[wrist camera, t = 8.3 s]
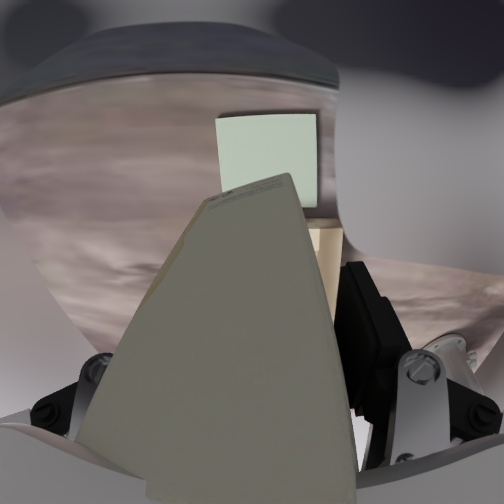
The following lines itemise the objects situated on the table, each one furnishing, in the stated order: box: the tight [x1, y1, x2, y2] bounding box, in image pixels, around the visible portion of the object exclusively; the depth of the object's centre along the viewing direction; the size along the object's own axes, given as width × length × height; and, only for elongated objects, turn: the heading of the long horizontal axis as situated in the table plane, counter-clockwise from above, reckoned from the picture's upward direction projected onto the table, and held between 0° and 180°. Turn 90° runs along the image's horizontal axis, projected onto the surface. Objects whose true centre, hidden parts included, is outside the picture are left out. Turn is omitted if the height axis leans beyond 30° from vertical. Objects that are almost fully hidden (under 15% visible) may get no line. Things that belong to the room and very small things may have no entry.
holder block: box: [305, 218, 343, 321], centre depth 33 cm, size 13×13×3 cm
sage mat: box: [215, 114, 317, 208], centre depth 28 cm, size 10×10×1 cm
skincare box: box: [74, 173, 359, 504], centre depth 8 cm, size 6×4×12 cm
